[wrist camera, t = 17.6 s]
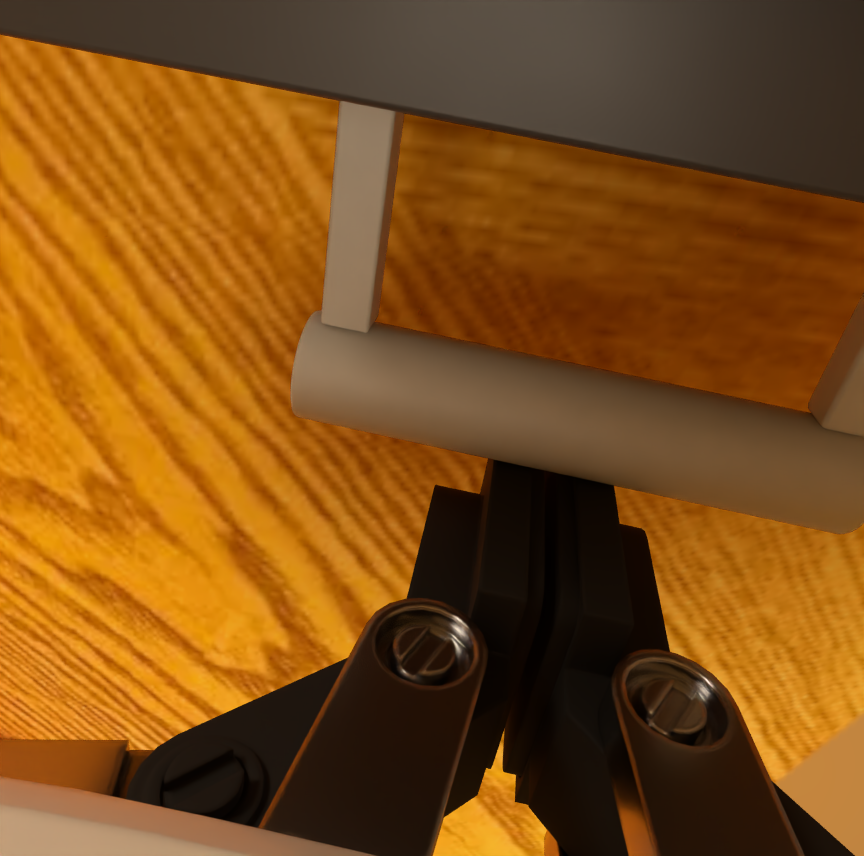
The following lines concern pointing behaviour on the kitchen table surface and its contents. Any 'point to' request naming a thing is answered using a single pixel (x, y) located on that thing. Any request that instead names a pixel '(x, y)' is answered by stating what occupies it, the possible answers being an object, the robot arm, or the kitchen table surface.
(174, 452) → the kitchen table surface
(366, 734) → the robot arm
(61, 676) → the kitchen table surface
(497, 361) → the drawer
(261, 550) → the kitchen table surface
